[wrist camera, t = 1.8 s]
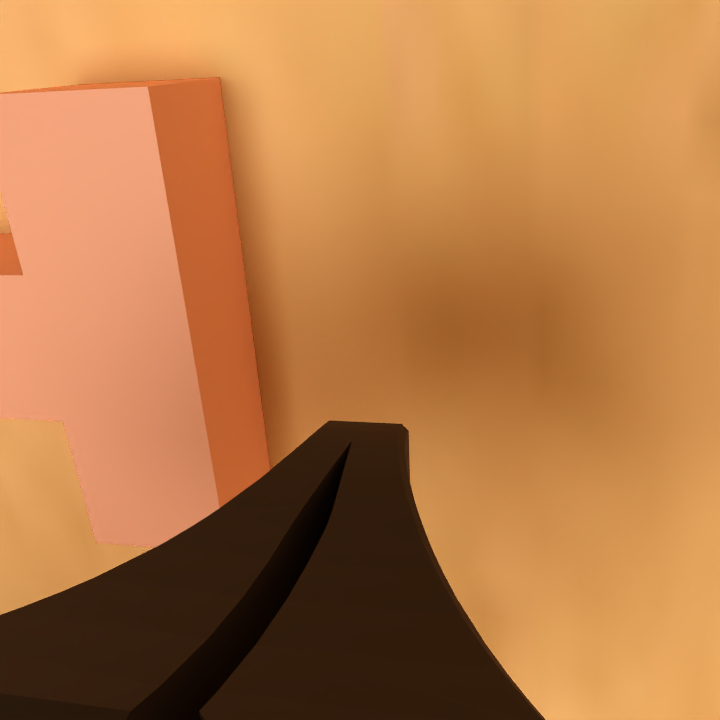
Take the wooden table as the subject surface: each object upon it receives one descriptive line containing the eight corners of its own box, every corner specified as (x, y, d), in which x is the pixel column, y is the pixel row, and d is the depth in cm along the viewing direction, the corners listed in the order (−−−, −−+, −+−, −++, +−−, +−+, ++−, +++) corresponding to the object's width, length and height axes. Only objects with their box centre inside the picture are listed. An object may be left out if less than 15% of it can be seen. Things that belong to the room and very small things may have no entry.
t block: (270, 471, 22) (227, 553, 19) (-47, 452, 24) (-140, 521, 21) (219, 77, 17) (147, 86, 14) (-174, 98, 19) (-324, 110, 16)
